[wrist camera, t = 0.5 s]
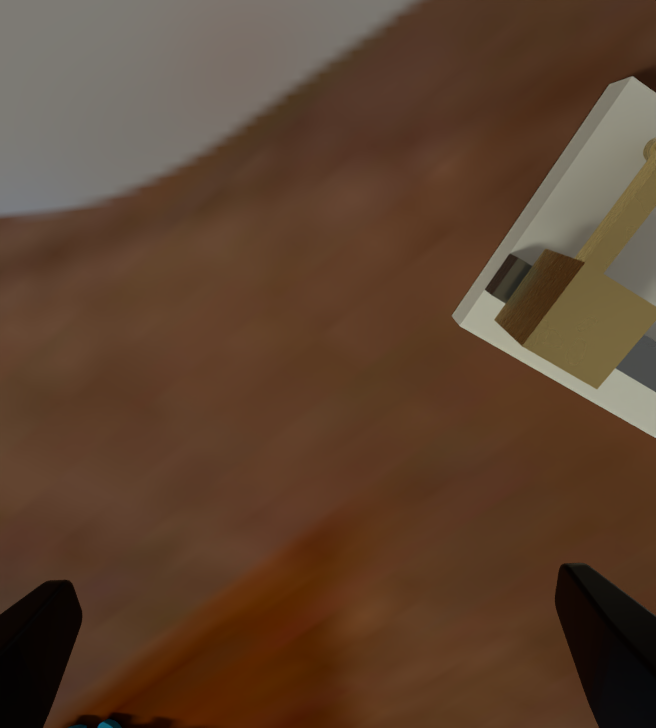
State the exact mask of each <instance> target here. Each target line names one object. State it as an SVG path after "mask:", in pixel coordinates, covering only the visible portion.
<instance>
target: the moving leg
mask: <svg viewBox="0 0 656 728" xmlns="http://www.w3.org/2000/svg"><path fill="white" fill-rule="evenodd" d="M643 156H644V158H645V160H646V163H645V164H644V165H643V167H642V168H641V169H640V171H639V172H638V174H637V175H636V176H635V178H634V179H633V180H632V182H631V183H630V184H629V186H628V187H627V188H626V190H625V191H624V192H623V194H622V195H621V196H620V198H619V199H618V200H617V202H616V203H615V204H614V206H613V207H612V208H611V210H610V211H609V212H608V214H607V215H606V216H605V218H604V219H603V220H602V222H601V223H600V224H599V226H598V227H597V228H596V230H595V231H594V232H593V234H592V235H591V237H590V238H589V239H588V241H587V242H586V243H585V245H584V246H583V247H582V249H581V250H580V251H579V253H578V254H577V255H576V257H575V258H571V257H568V256H565V255H563V254H560V253H557V252H554V251H551V250H548V249H544V251H543V252H542V254H541V255H540V256H539V258H538V259H537V261H536V262H535V263H534V265H533V266H532V268H531V269H530V270H529V272H528V273H527V275H526V276H525V277H524V279H523V280H522V281H521V283H520V284H519V286H518V287H517V288H516V290H515V291H514V293H513V294H512V295H511V297H510V298H509V300H508V301H507V302H506V304H505V305H504V307H503V308H502V309H501V311H500V312H499V314H498V315H497V316H496V318H495V319H494V320H495V321H496V322H497V323H498V324H499V325H500V326H501V327H502V328H503V329H504V330H505V331H506V332H507V333H508V334H509V335H510V336H512V337H513V338H514V339H515V340H516V341H517V342H518V343H519V344H520V345H521V346H522V347H524V348H526V349H527V350H529V351H531V352H533V353H534V354H536V355H538V356H540V357H541V358H543V359H545V360H547V361H548V362H550V363H552V364H553V365H555V366H557V367H559V368H560V369H562V370H564V371H566V372H567V373H569V374H571V375H572V376H574V377H576V378H578V379H579V380H581V381H583V382H585V383H586V384H588V385H590V386H592V387H593V388H595V389H598V388H599V387H600V386H601V384H602V383H603V382H604V381H605V380H606V379H607V377H608V376H609V375H610V374H611V373H612V372H613V370H614V369H615V368H616V367H617V366H618V364H619V363H620V362H621V361H622V360H623V359H624V357H625V356H626V355H627V354H628V353H629V352H630V350H631V349H632V348H633V347H634V346H635V345H636V343H637V342H638V341H639V340H640V339H641V338H642V336H643V335H644V334H645V333H646V332H647V330H648V329H649V328H650V327H651V326H652V325H653V323H654V322H655V321H656V306H654V305H653V304H651V303H649V302H648V301H646V300H645V299H643V298H641V297H640V296H638V295H637V294H635V293H633V292H632V291H630V290H629V289H627V288H625V287H624V286H622V285H621V284H619V283H617V282H616V281H614V280H613V279H611V278H609V277H608V276H606V275H605V274H604V272H605V271H606V270H607V268H608V267H609V266H610V265H611V263H612V262H613V261H614V259H615V258H616V257H617V256H618V254H619V253H620V252H621V250H622V249H623V248H624V247H625V245H626V244H627V243H628V241H629V240H630V239H631V238H632V236H633V235H634V234H635V232H636V231H637V230H638V229H639V227H640V226H641V225H642V223H643V222H644V221H645V220H646V218H647V217H648V216H649V214H650V213H651V212H652V211H653V209H654V208H655V207H656V137H655V138H653V139H651V140H650V141H648V142H647V144H646V145H645V147H644V150H643Z"/></svg>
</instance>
